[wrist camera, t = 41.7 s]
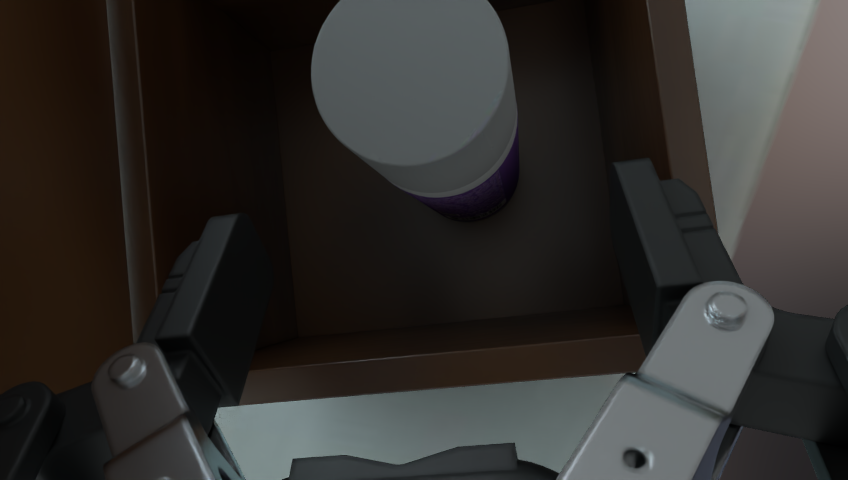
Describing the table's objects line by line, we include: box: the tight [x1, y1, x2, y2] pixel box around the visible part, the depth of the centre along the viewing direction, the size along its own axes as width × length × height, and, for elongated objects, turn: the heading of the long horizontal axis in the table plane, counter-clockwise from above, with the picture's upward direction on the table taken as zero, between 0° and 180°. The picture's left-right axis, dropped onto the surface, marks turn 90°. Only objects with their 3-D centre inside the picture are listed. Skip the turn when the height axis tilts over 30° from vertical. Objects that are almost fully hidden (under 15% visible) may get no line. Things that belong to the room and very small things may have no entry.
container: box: [311, 0, 519, 222], centre depth 21 cm, size 5×5×15 cm
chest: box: [106, 0, 718, 406], centre depth 23 cm, size 17×16×12 cm
